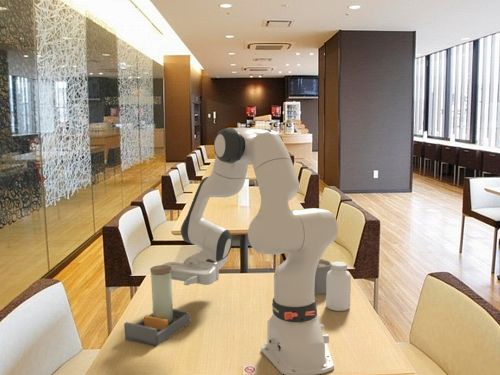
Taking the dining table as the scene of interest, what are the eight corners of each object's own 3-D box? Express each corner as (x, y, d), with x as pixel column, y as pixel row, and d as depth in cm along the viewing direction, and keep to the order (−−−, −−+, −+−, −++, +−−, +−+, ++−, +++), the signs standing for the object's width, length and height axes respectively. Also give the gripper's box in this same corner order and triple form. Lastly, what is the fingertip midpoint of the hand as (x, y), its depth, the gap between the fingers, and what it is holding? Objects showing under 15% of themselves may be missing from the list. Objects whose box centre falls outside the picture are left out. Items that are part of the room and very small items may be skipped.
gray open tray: (161, 316, 167) (161, 301, 166) (190, 322, 162) (189, 307, 161) (125, 339, 151) (124, 323, 150) (155, 346, 146) (154, 330, 146)
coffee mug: (303, 294, 184) (303, 267, 183) (303, 284, 194) (303, 258, 192) (341, 294, 183) (342, 267, 182) (339, 284, 193) (339, 259, 191)
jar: (174, 327, 156) (171, 270, 153) (153, 329, 155) (150, 272, 152) (173, 319, 162) (170, 264, 159) (153, 321, 161) (150, 265, 158)
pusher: (146, 325, 158) (146, 315, 157) (168, 329, 154) (167, 319, 154) (144, 326, 157) (143, 316, 156) (166, 331, 153) (165, 321, 153)
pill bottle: (355, 307, 171) (356, 264, 169) (337, 313, 167) (338, 269, 164) (338, 300, 178) (338, 258, 175) (321, 306, 173) (321, 263, 171)
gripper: (170, 255, 178) (145, 266, 166) (222, 262, 169) (199, 275, 157) (171, 272, 179) (146, 285, 167) (222, 280, 170) (200, 294, 158)
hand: (172, 280), depth 162 cm, fingers open, 8 cm apart
